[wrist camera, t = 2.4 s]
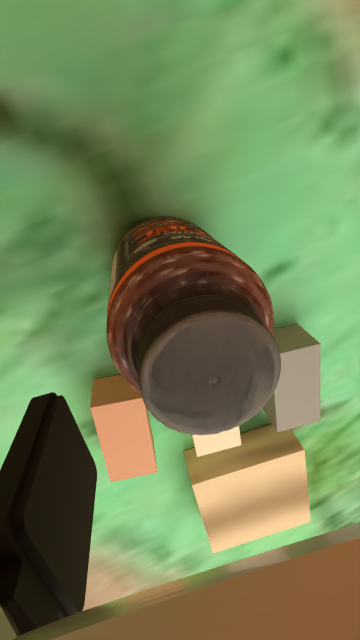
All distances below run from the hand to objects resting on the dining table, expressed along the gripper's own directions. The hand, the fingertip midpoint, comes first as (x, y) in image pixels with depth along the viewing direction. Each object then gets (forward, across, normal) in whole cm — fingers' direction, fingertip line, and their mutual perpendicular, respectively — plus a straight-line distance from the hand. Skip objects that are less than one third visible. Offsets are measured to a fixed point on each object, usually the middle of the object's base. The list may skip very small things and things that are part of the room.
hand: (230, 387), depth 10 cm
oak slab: (+11, -1, +17) cm, 20 cm away
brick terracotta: (+11, +6, +8) cm, 15 cm away
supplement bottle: (+11, +1, -1) cm, 11 cm away
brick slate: (+11, -5, +8) cm, 15 cm away
